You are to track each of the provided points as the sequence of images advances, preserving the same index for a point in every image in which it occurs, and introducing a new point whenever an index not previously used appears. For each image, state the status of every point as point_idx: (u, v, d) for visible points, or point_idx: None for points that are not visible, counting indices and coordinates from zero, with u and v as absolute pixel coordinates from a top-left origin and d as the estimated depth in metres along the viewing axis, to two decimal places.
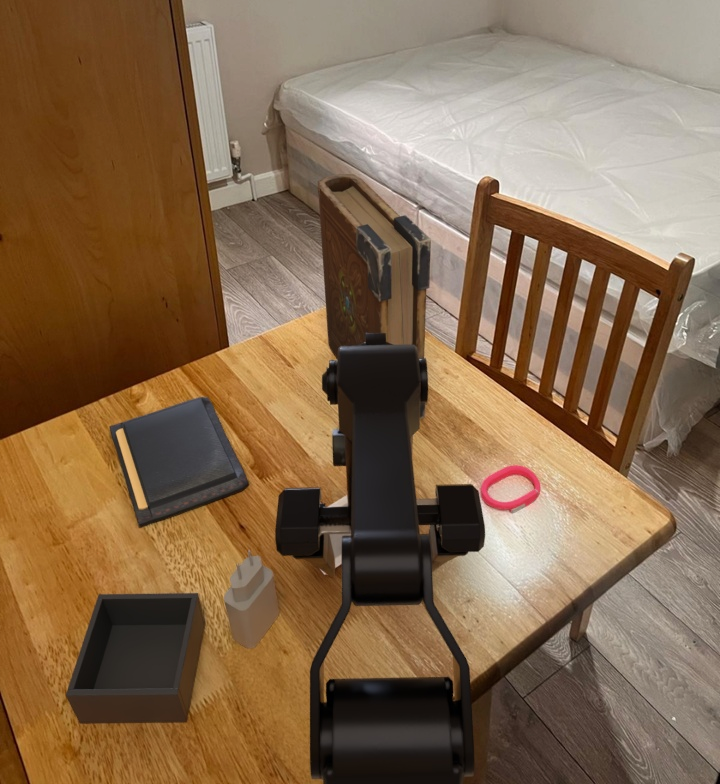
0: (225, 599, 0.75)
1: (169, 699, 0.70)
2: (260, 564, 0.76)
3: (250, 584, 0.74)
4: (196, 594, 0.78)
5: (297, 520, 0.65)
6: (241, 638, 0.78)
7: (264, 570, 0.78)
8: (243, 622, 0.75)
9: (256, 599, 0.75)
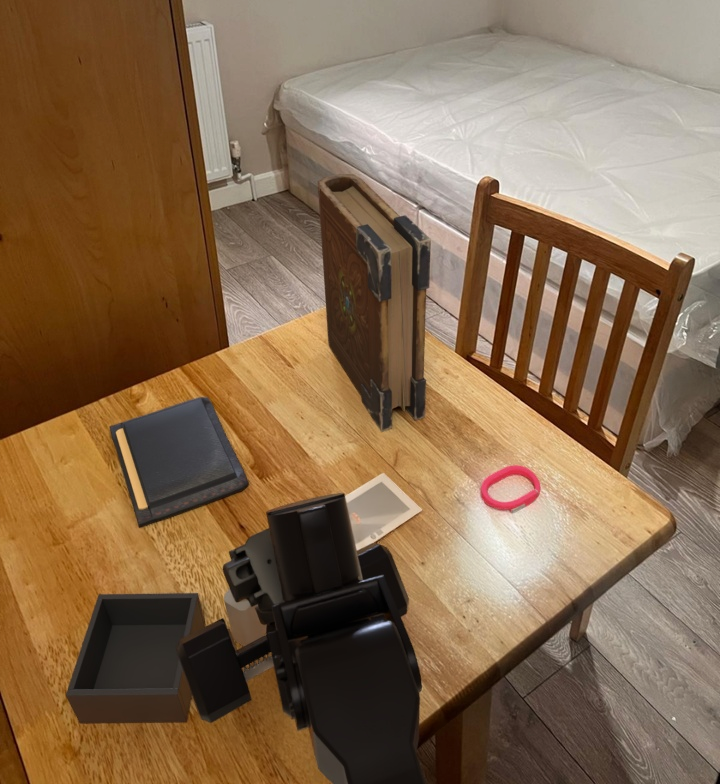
0: (225, 599, 0.75)
1: (169, 699, 0.70)
2: None
3: None
4: (196, 594, 0.78)
5: (222, 694, 0.55)
6: (241, 638, 0.78)
7: None
8: (243, 622, 0.75)
9: None
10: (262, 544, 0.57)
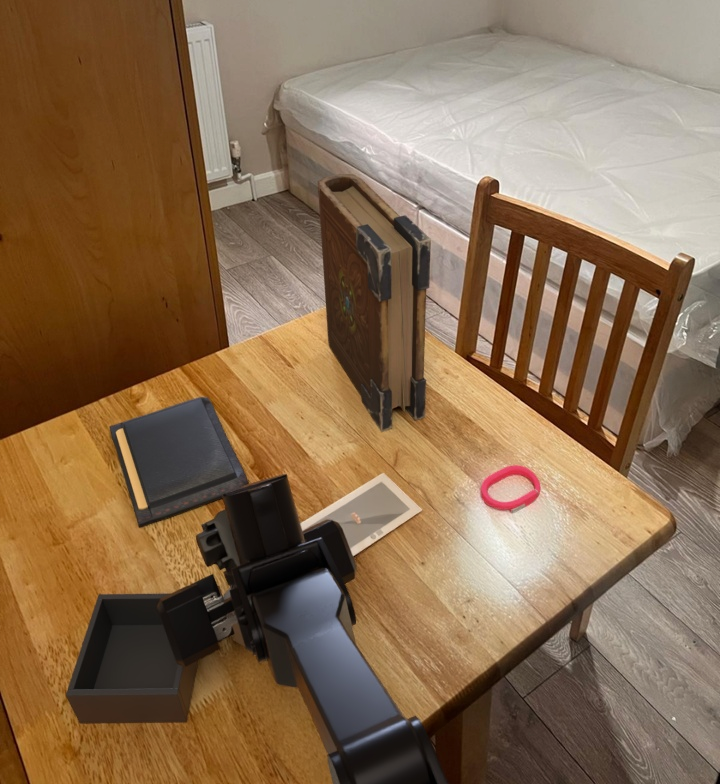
0: (225, 599, 0.75)
1: (169, 699, 0.70)
2: None
3: None
4: None
5: (195, 643, 0.66)
6: (241, 638, 0.78)
7: None
8: None
9: None
10: None
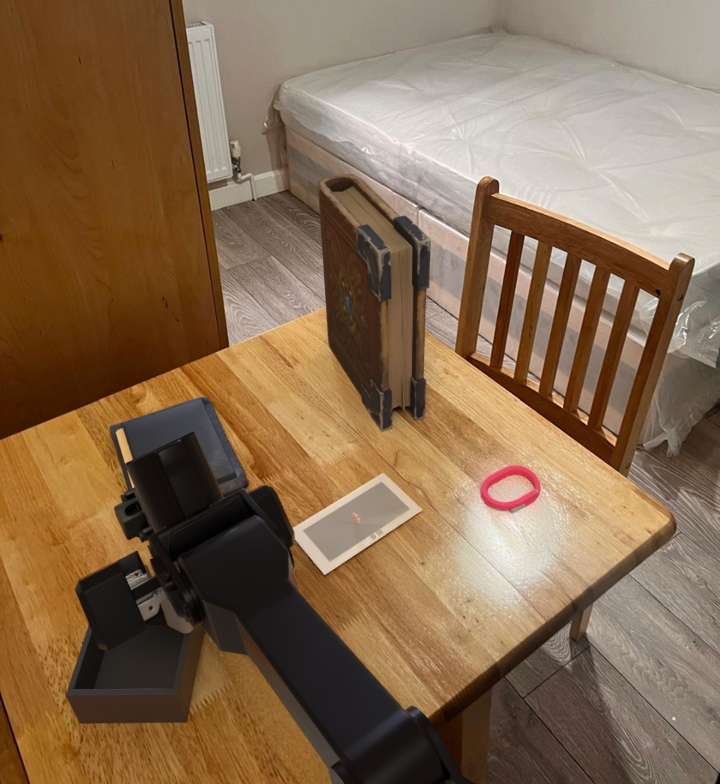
0: None
1: (169, 699, 0.70)
2: None
3: None
4: None
5: (118, 623, 0.60)
6: (175, 622, 0.72)
7: None
8: None
9: None
10: None
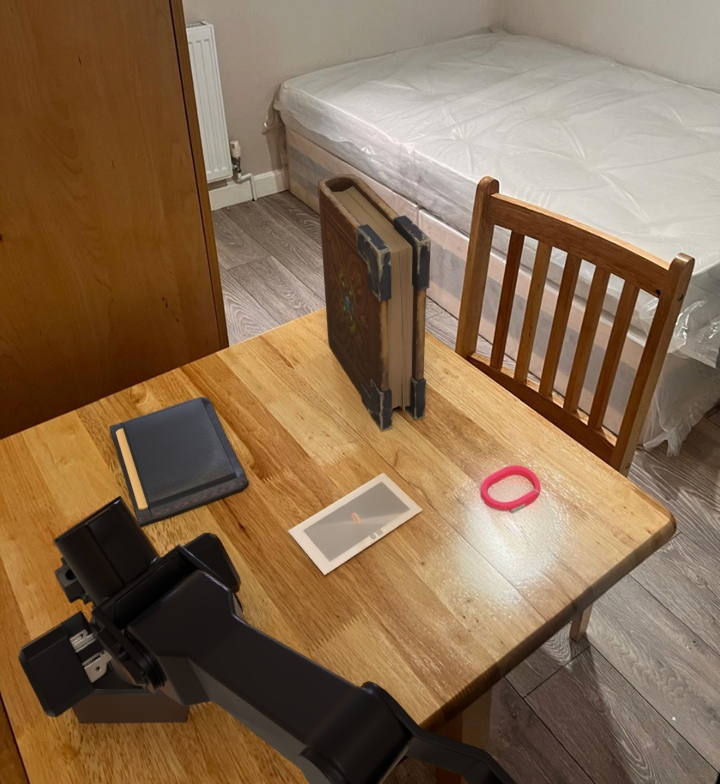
0: None
1: (169, 699, 0.70)
2: None
3: None
4: None
5: (65, 689, 0.60)
6: (125, 674, 0.72)
7: None
8: None
9: None
10: None
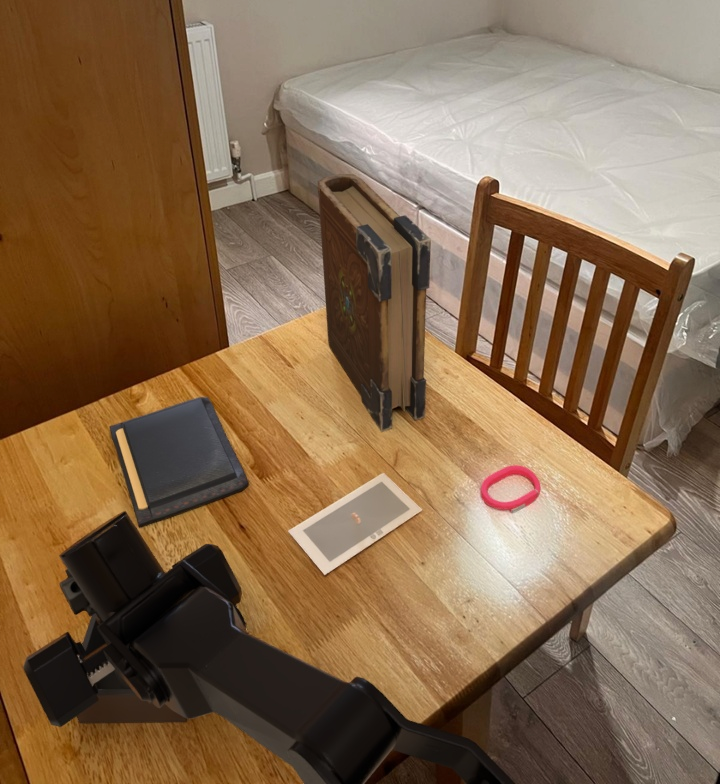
0: None
1: None
2: None
3: None
4: None
5: (69, 699, 0.61)
6: None
7: None
8: None
9: None
10: None
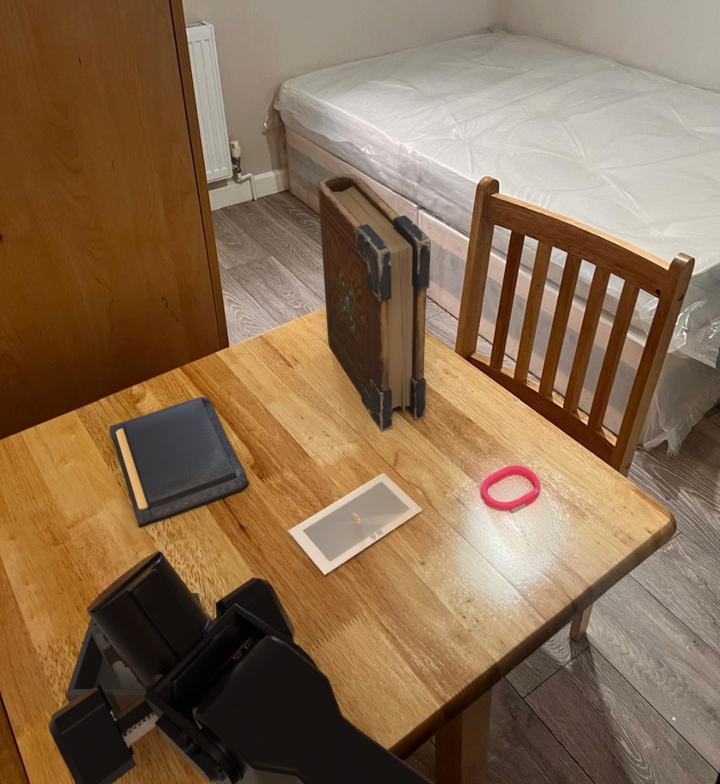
0: None
1: None
2: None
3: None
4: (196, 594, 0.78)
5: (103, 765, 0.52)
6: (130, 686, 0.73)
7: None
8: None
9: None
10: None
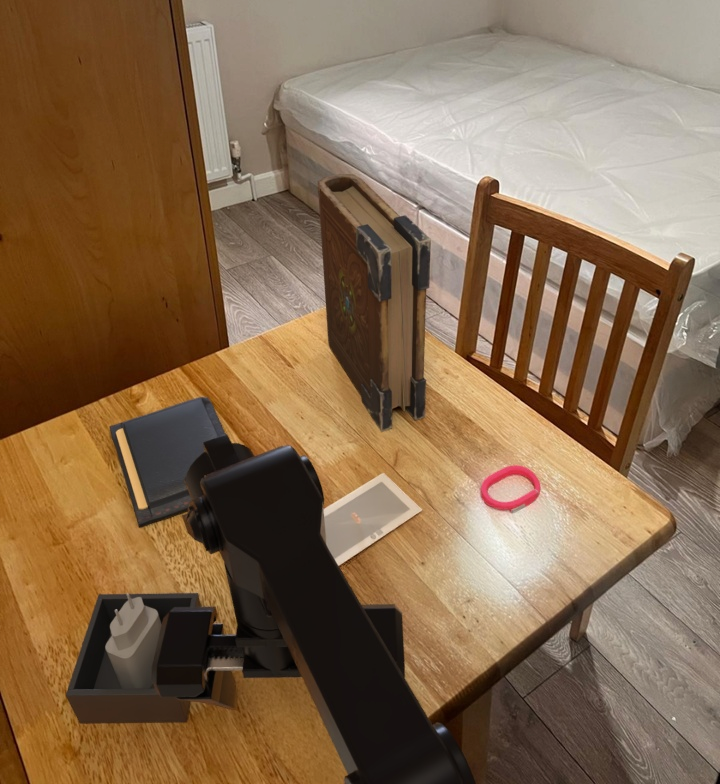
0: (107, 649, 0.71)
1: (169, 699, 0.70)
2: (142, 606, 0.72)
3: (133, 629, 0.70)
4: (196, 594, 0.78)
5: (178, 655, 0.54)
6: (130, 686, 0.73)
7: (148, 611, 0.74)
8: (130, 669, 0.71)
9: (140, 643, 0.71)
10: None
